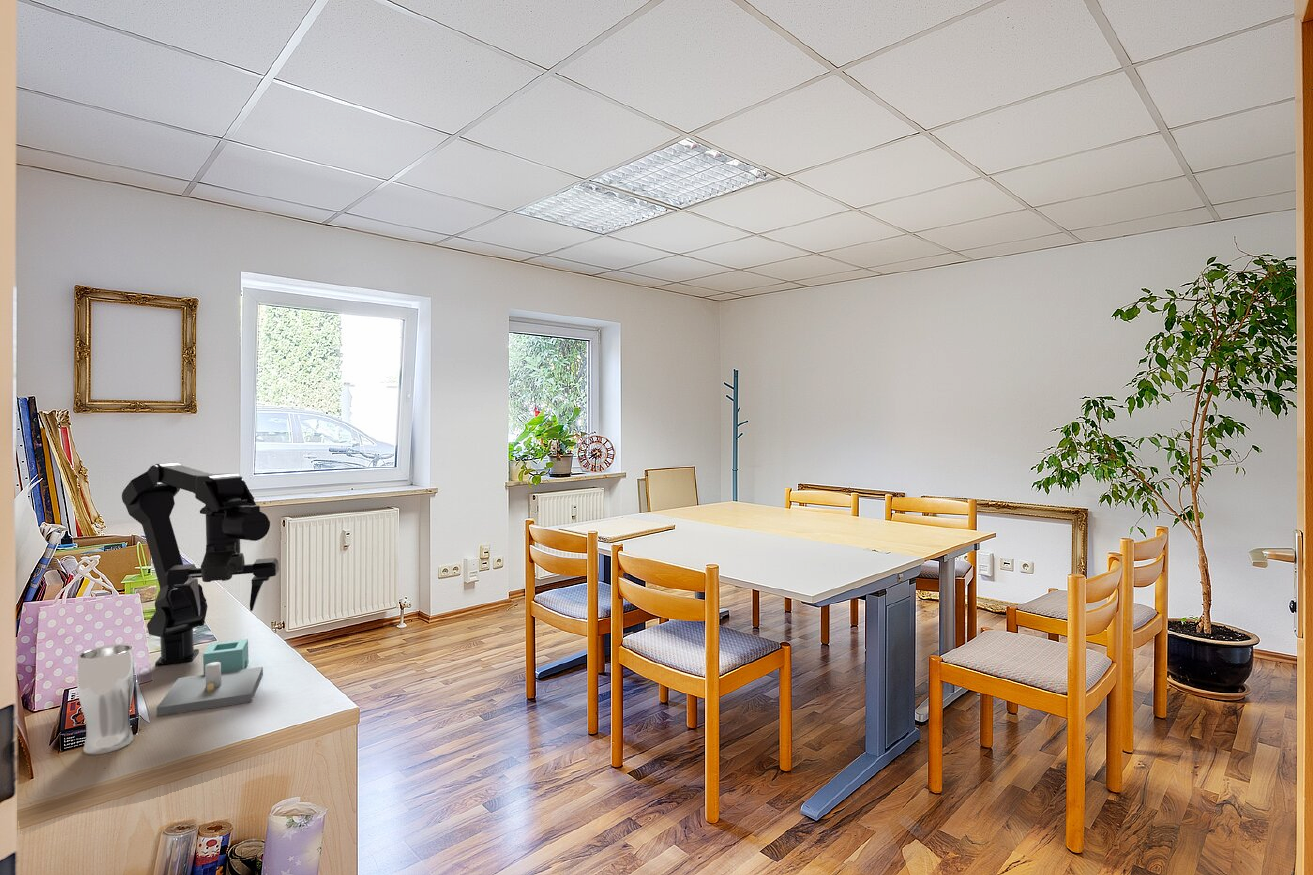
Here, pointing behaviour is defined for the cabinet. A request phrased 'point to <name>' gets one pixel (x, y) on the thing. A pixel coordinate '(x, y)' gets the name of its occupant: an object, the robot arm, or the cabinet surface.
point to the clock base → (211, 690)
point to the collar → (227, 655)
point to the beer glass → (106, 696)
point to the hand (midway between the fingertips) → (225, 613)
